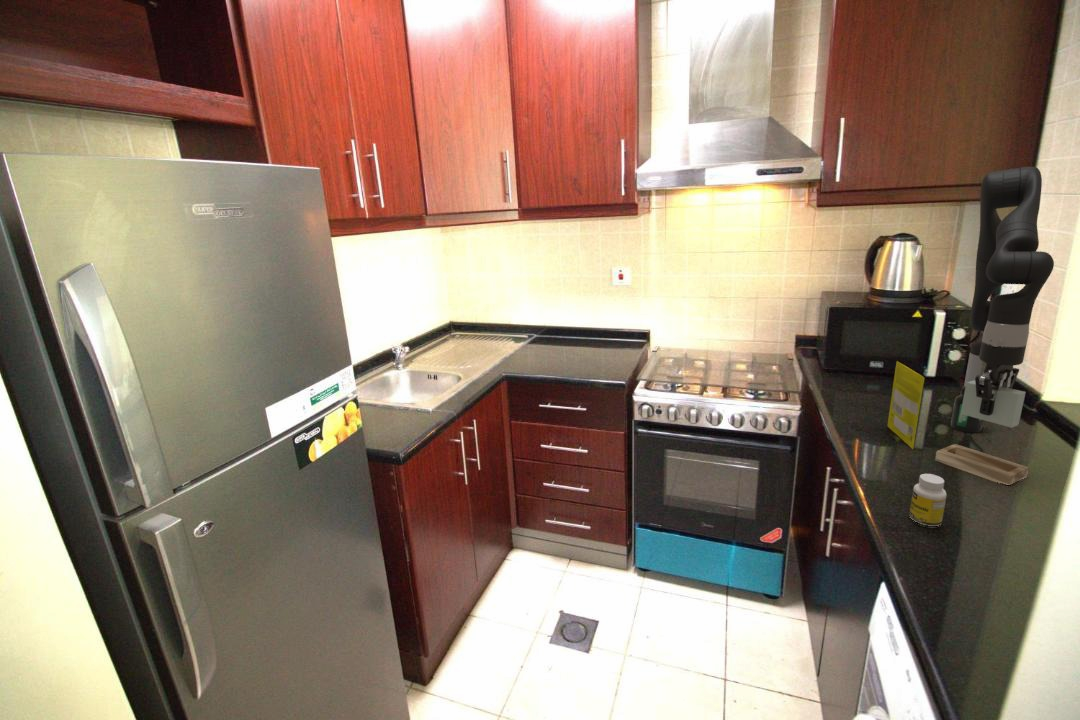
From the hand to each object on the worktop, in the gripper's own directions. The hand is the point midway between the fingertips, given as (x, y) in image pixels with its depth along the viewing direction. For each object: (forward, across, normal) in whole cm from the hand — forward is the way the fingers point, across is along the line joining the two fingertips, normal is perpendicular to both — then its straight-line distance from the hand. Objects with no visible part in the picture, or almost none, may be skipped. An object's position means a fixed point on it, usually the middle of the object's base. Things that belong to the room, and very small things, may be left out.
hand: (989, 412), depth 120 cm
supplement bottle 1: (+15, +33, +6) cm, 37 cm away
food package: (+15, -2, -20) cm, 25 cm away
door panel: (+2, 0, 0) cm, 2 cm away
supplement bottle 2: (+15, -23, -14) cm, 31 cm away
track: (+15, 0, 0) cm, 15 cm away
